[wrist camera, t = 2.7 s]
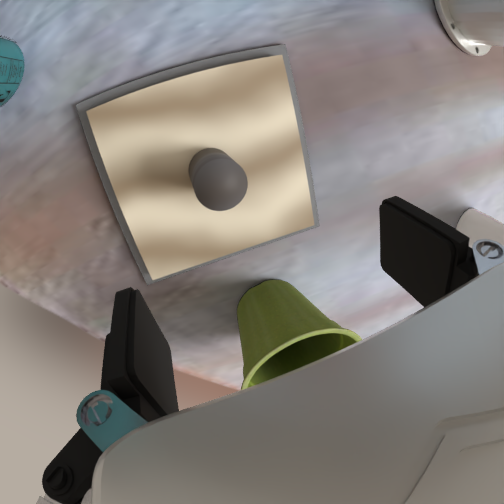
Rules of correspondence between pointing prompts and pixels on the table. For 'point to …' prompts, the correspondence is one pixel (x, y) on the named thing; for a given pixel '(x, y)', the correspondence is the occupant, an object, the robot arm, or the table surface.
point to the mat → (170, 75)
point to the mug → (480, 227)
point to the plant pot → (284, 332)
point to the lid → (206, 163)
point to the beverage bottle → (10, 69)
